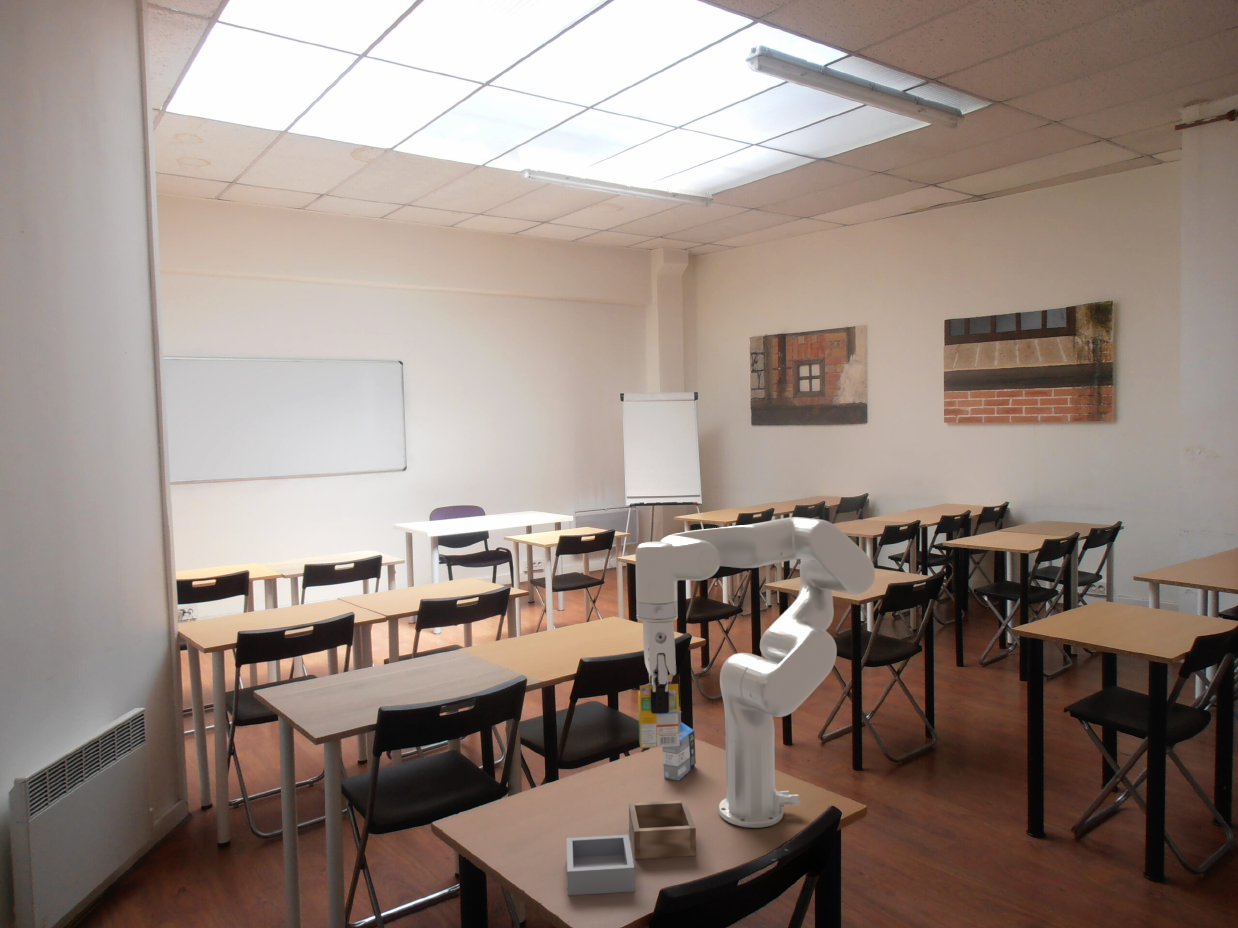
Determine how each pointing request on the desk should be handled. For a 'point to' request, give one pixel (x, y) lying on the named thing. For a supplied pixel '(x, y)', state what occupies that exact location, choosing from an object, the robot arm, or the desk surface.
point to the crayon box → (658, 720)
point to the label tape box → (680, 754)
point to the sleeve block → (661, 829)
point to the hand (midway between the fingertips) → (658, 708)
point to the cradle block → (599, 865)
